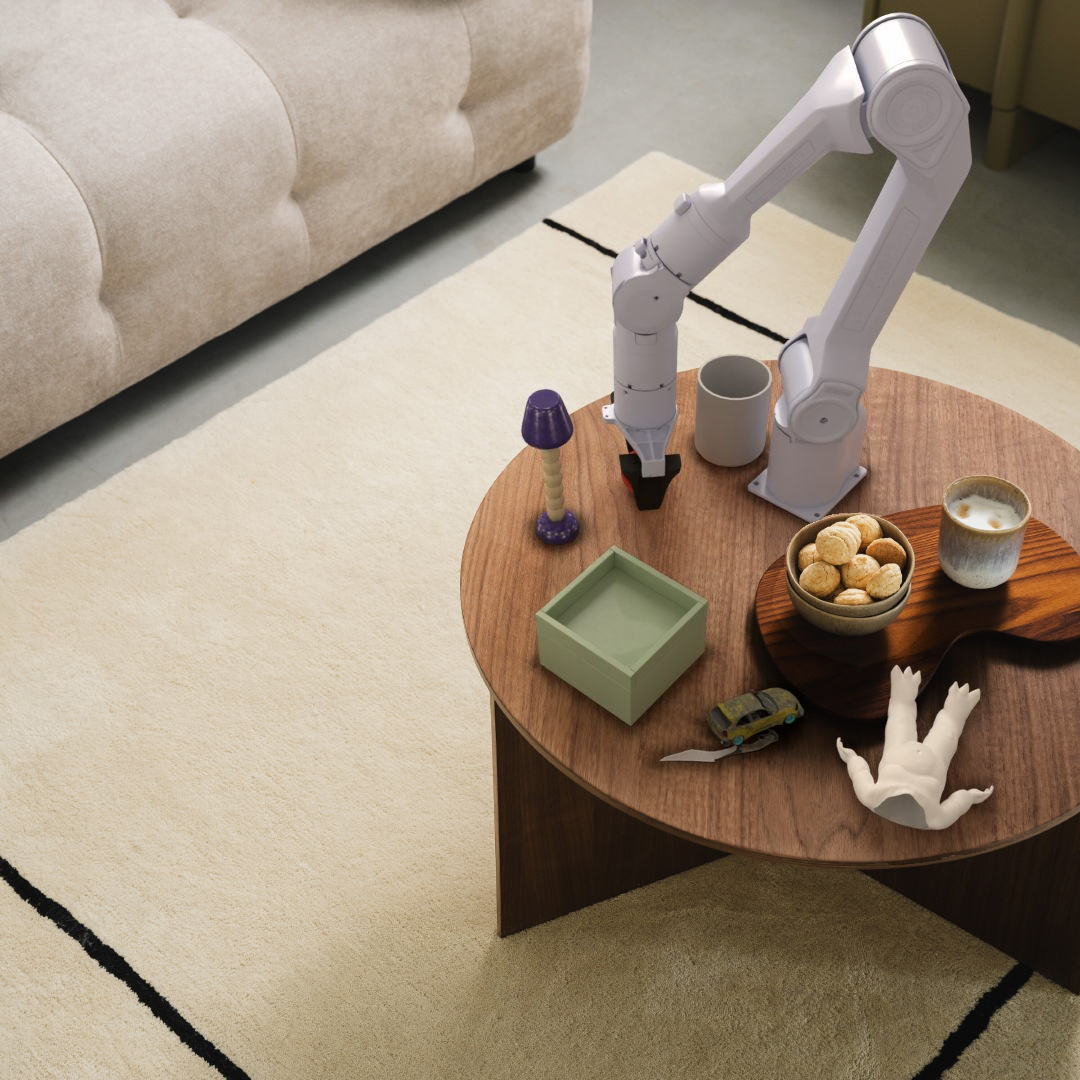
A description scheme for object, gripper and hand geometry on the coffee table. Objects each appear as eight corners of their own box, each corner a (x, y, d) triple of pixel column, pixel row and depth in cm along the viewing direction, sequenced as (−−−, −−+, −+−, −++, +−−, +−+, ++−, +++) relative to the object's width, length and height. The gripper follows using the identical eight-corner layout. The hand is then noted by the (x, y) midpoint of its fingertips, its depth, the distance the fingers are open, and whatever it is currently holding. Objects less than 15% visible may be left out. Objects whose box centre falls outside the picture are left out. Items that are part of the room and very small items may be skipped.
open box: (614, 595, 105) (613, 544, 100) (704, 651, 100) (708, 600, 95) (539, 664, 100) (534, 613, 95) (630, 726, 95) (630, 677, 90)
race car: (809, 716, 94) (810, 694, 93) (723, 751, 92) (723, 730, 91) (785, 689, 97) (785, 667, 95) (701, 722, 95) (700, 701, 93)
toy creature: (1017, 695, 90) (1002, 800, 80) (996, 750, 93) (979, 857, 84) (863, 650, 93) (832, 746, 84) (848, 705, 97) (817, 803, 88)
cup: (699, 471, 116) (703, 402, 109) (685, 408, 123) (688, 339, 116) (770, 466, 116) (778, 397, 109) (753, 403, 123) (760, 334, 116)
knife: (773, 727, 94) (773, 725, 94) (782, 744, 93) (782, 742, 93) (657, 759, 93) (657, 757, 93) (665, 776, 92) (665, 774, 91)
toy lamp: (571, 552, 109) (564, 418, 97) (524, 544, 110) (511, 410, 98) (584, 517, 112) (578, 383, 100) (538, 510, 113) (527, 376, 101)
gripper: (594, 327, 109) (597, 435, 119) (608, 427, 99) (610, 536, 109) (668, 321, 109) (665, 430, 119) (690, 420, 99) (685, 530, 109)
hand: (644, 480), depth 114 cm, fingers open, 7 cm apart
